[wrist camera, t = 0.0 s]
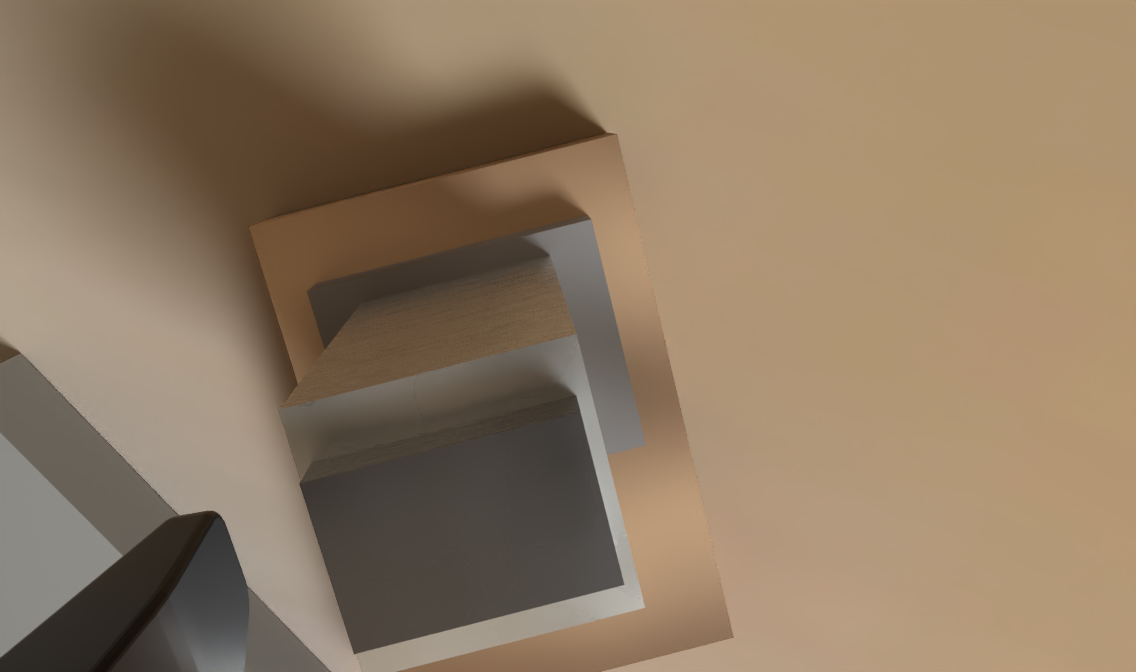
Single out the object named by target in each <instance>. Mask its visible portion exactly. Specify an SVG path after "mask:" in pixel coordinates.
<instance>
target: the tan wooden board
mask: <svg viewBox="0 0 1136 672" xmlns="http://www.w3.org/2000/svg"><path fill="white" fill-rule="evenodd" d="M249 230H250V233H251V236H252V240H253V243H254V246H255V249H256V252H257V256H258V259H259V262H260V265H261V268H262V271H263V275H264V278H265V281H266V284H267V287H268V291H269V294H270V297H271V300H272V303H273V306H274V310H275V313H276V316H277V319H278V322H279V326H280V329H281V332H282V335H283V338H284V341H285V345H286V348H287V351H288V354H289V357H290V361H291V364H292V367H293V370H294V373H295V376H296V380H297V383H298V384H299V383H300V381H301V380H302V379H303V377H304V376H305V375H306V374H307V372H308V371H309V370H310V368H311V367H312V366H313V365H314V363H315V362H316V361H317V359H318V358H319V357H320V356H321V354H322V353H323V352H324V350H325V349H326V348H327V347H328V345H329V344H330V343H331V341H332V340H333V339H334V338H335V336H336V335H337V334H338V332H339V331H340V330H341V328H342V327H343V326H344V325H345V323H346V322H347V321H348V319H349V318H350V317H351V316H352V314H353V313H354V312H355V310H356V309H357V308H358V307H359V305H360V304H361V303H363V302H367V301H371V300H375V299H379V298H383V297H387V296H391V295H395V294H399V293H403V292H407V291H411V290H414V289H418V288H422V287H426V286H430V285H434V284H438V283H442V282H446V281H450V280H454V279H458V278H462V277H466V276H470V275H474V274H478V273H482V272H485V271H489V270H493V269H497V268H501V267H505V266H509V265H513V264H517V263H521V262H525V261H529V260H533V259H537V258H541V257H545V256H549V255H550V256H551V259H552V262H553V265H554V268H555V271H556V274H557V277H558V280H559V283H560V286H561V289H562V292H563V295H564V298H565V301H566V304H567V307H568V310H569V313H570V316H571V319H572V322H573V325H574V328H575V331H576V334H577V338H578V342H579V346H580V350H581V354H582V358H583V362H584V366H585V370H586V374H587V378H588V382H589V386H590V390H591V394H592V398H593V402H594V406H595V409H596V413H597V417H598V421H599V425H600V429H601V433H602V437H603V441H604V445H605V449H606V453H607V457H608V461H609V465H610V469H611V473H612V477H613V481H614V485H615V489H616V493H617V497H618V501H619V505H620V509H621V513H622V517H623V521H624V525H625V529H626V533H627V537H628V541H629V545H630V549H631V553H632V557H633V561H634V565H635V569H636V573H637V577H638V581H639V585H640V589H641V593H642V597H643V601H644V605H645V608H643V609H639V610H635V611H631V612H627V613H623V614H619V615H615V616H611V617H607V618H604V619H600V620H596V621H592V622H588V623H584V624H580V625H576V626H572V627H568V628H565V629H561V630H557V631H553V632H549V633H545V634H541V635H537V636H533V637H529V638H526V639H522V640H518V641H514V642H510V643H506V644H502V645H498V646H494V647H490V648H487V649H483V650H479V651H475V652H471V653H467V654H463V655H459V656H455V657H451V658H448V659H444V660H440V661H436V662H432V663H428V664H424V665H420V666H416V667H412V668H409V669H405V670H401V671H397V672H601V671H605V670H609V669H613V668H617V667H621V666H625V665H629V664H633V663H637V662H640V661H644V660H648V659H652V658H656V657H660V656H664V655H668V654H672V653H675V652H679V651H683V650H687V649H691V648H695V647H699V646H703V645H707V644H710V643H714V642H718V641H722V640H726V639H730V638H734V637H733V633H732V629H731V624H730V620H729V616H728V611H727V607H726V603H725V598H724V594H723V590H722V585H721V581H720V577H719V573H718V568H717V564H716V560H715V555H714V551H713V547H712V542H711V538H710V534H709V529H708V525H707V521H706V516H705V512H704V508H703V503H702V499H701V495H700V491H699V486H698V482H697V478H696V473H695V469H694V465H693V460H692V456H691V452H690V447H689V443H688V439H687V434H686V430H685V426H684V421H683V417H682V413H681V409H680V404H679V400H678V396H677V391H676V387H675V383H674V378H673V374H672V370H671V365H670V361H669V357H668V352H667V348H666V344H665V339H664V335H663V331H662V327H661V322H660V318H659V314H658V309H657V305H656V301H655V296H654V292H653V288H652V283H651V279H650V275H649V270H648V266H647V262H646V257H645V253H644V249H643V245H642V240H641V236H640V232H639V227H638V223H637V219H636V214H635V210H634V206H633V201H632V197H631V193H630V188H629V184H628V180H627V175H626V171H625V167H624V163H623V158H622V154H621V150H620V145H619V141H618V137H617V134H613V133H605V134H601V135H597V136H593V137H589V138H585V139H581V140H577V141H573V142H569V143H565V144H561V145H557V146H553V147H549V148H546V149H542V150H538V151H534V152H530V153H526V154H522V155H518V156H514V157H510V158H506V159H502V160H498V161H494V162H490V163H486V164H482V165H478V166H474V167H470V168H466V169H462V170H458V171H455V172H451V173H447V174H443V175H439V176H435V177H431V178H427V179H423V180H419V181H415V182H411V183H407V184H403V185H399V186H395V187H391V188H387V189H383V190H379V191H375V192H371V193H367V194H364V195H360V196H356V197H352V198H348V199H344V200H340V201H336V202H332V203H328V204H324V205H320V206H316V207H312V208H308V209H304V210H300V211H296V212H292V213H288V214H284V215H280V216H277V217H273V218H269V219H267V220H264V221H262V222H260V223H257V224H255V225H253V226H250V227H249Z"/></svg>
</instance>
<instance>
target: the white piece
mask: <svg viewBox="0 0 1136 672" xmlns="http://www.w3.org/2000/svg"><path fill="white" fill-rule="evenodd" d="M279 414H280V417H281V420H282V423H283V426H284V429H285V432H286V435H287V438H288V442H289V445H290V448H291V451H292V454H293V457H294V460H295V463H296V467H297V470H298V473H299V476H300V479H301V482H300V487H301V490H302V493H303V496H304V499H305V502H306V505H307V509H308V512H309V515H310V518H311V521H312V524H313V527H314V530H315V533H316V537H317V540H318V543H319V546H320V549H321V552H322V555H323V558H324V561H325V565H326V568H327V571H328V574H329V577H330V580H331V583H332V586H333V590H334V593H335V596H336V599H337V602H338V605H339V608H340V611H341V614H342V618H343V621H344V624H345V627H346V630H347V633H348V636H349V639H350V642H351V646H352V649H353V652H354V654H357V657H358V660H359V663H360V666H361V669H362V672H397V671H401V670H405V669H409V668H412V667H416V666H420V665H424V664H428V663H432V662H436V661H440V660H444V659H448V658H451V657H455V656H459V655H463V654H467V653H471V652H475V651H479V650H483V649H487V648H490V647H494V646H498V645H502V644H506V643H510V642H514V641H518V640H522V639H526V638H529V637H533V636H537V635H541V634H545V633H549V632H553V631H557V630H561V629H565V628H568V627H572V626H576V625H580V624H584V623H588V622H592V621H596V620H600V619H604V618H607V617H611V616H615V615H619V614H623V613H627V612H631V611H635V610H639V609H643V608H645V605H644V601H643V597H642V593H641V589H640V585H639V581H638V577H637V573H636V569H635V565H634V561H633V557H632V553H631V549H630V545H629V541H628V537H627V533H626V529H625V525H624V521H623V517H622V513H621V509H620V505H619V501H618V497H617V493H616V489H615V485H614V481H613V477H612V473H611V469H610V465H609V461H608V457H607V453H606V449H605V445H604V441H603V437H602V433H601V429H600V425H599V421H598V417H597V413H596V409H595V406H594V402H593V398H592V394H591V390H590V386H589V382H588V378H587V374H586V370H585V366H584V362H583V358H582V354H581V350H580V346H579V342H578V338H577V334H576V331H575V328H574V325H573V322H572V319H571V316H570V313H569V310H568V307H567V304H566V301H565V298H564V295H563V292H562V289H561V286H560V283H559V280H558V277H557V274H556V271H555V268H554V265H553V262H552V259H551V256H550V255H549V256H545V257H541V258H537V259H533V260H529V261H525V262H521V263H517V264H513V265H509V266H505V267H501V268H497V269H493V270H489V271H485V272H482V273H478V274H474V275H470V276H466V277H462V278H458V279H454V280H450V281H446V282H442V283H438V284H434V285H430V286H426V287H422V288H418V289H414V290H411V291H407V292H403V293H399V294H395V295H391V296H387V297H383V298H379V299H375V300H371V301H367V302H363V303H361V304H360V305H359V307H358V308H357V309H356V310H355V312H354V313H353V314H352V316H351V317H350V318H349V319H348V321H347V322H346V323H345V325H344V326H343V327H342V328H341V330H340V331H339V332H338V334H337V335H336V336H335V338H334V339H333V340H332V341H331V343H330V344H329V345H328V347H327V348H326V349H325V350H324V352H323V353H322V354H321V356H320V357H319V358H318V359H317V361H316V362H315V363H314V365H313V366H312V367H311V368H310V370H309V371H308V372H307V374H306V375H305V376H304V377H303V379H302V380H301V381H300V383H299V384H298V385H297V387H296V388H295V389H294V390H293V392H292V393H291V394H290V396H289V397H288V398H287V399H286V401H285V402H284V403H283V405H282V406H281V407H280V408H279Z"/></svg>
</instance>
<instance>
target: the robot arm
mask: <svg viewBox="0 0 1136 672" xmlns="http://www.w3.org/2000/svg"><path fill="white" fill-rule="evenodd" d="M248 621H249V594H248V588H247V584H246V580H245V578H244V575H243V572H242V569H241V566H240V563H239V561H238V558H237V555H236V552H235V549H234V546H233V544H232V541H231V538H230V535H229V532H228V529H227V527H226V524H225V522H224V520H223V519H222V517H221V516H220V515H219V514H218V513H216V512H214V511H203V512H197V513H192V514H186V515H180V516H174V517H171V518H169V519H167V520H166V521H165V522H163V523H162V524H161V525H160V526H159V527H157V528H156V529H155V530H154V531H153V532H151V533H150V534H149V535H148V536H146V537H145V538H144V539H143V540H142V541H140V542H139V543H138V544H137V545H136V546H134V547H133V548H132V549H131V550H130V551H128V552H127V553H126V554H125V555H124V556H122V557H121V558H120V559H119V560H117V561H116V562H115V563H114V564H113V565H111V566H110V567H109V568H108V569H107V570H105V571H104V572H103V573H102V574H101V575H99V576H98V577H97V578H96V579H95V580H93V581H92V582H91V583H90V584H88V585H87V586H86V587H85V588H84V589H82V590H81V591H80V592H79V593H78V594H76V595H75V596H74V597H73V598H72V599H70V600H69V601H68V602H67V603H66V604H64V605H63V606H62V607H61V608H59V609H58V610H57V611H56V612H55V613H53V614H52V615H51V616H50V617H49V618H47V619H46V620H45V621H44V622H43V623H41V624H40V625H39V626H38V627H37V628H35V629H34V630H33V631H32V632H30V633H29V634H28V635H27V636H26V637H24V638H23V639H22V640H21V641H20V642H18V643H17V644H16V645H15V646H14V647H12V648H11V649H10V650H9V651H8V652H6V653H5V654H4V655H3V656H1V657H0V672H244V669H245V657H246V645H247V633H248Z"/></svg>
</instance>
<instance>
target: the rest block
mask: <svg viewBox="0 0 1136 672" xmlns="http://www.w3.org/2000/svg"><path fill="white" fill-rule="evenodd" d="M174 516H178V515H177V514H176V513H175V512H174V511H173V510H172V509H171V508H170V507H169V506H168V504H167V503H166V502H165V501H164V500H163V499H162V498H161V497H160V496H159V495H158V494H157V493H156V492H155V491H154V490H153V489H152V488H151V487H150V486H149V485H148V484H147V483H146V482H145V481H144V480H143V479H142V478H141V477H140V476H139V475H138V474H137V473H136V472H135V471H134V469H133V468H132V467H131V466H130V465H129V464H128V463H127V462H126V461H125V460H124V459H123V458H122V457H121V456H120V455H119V454H118V453H117V452H116V451H115V450H114V449H113V448H112V447H111V446H110V445H109V444H108V443H107V442H106V441H105V440H104V439H103V438H102V437H101V436H100V435H99V433H98V432H97V431H96V430H95V429H94V428H93V427H92V426H91V425H90V424H89V423H88V422H87V421H86V420H85V419H84V418H83V417H82V416H81V415H80V414H79V413H78V412H77V411H76V410H75V409H74V408H73V407H72V406H71V405H70V404H69V403H68V402H67V401H66V400H65V398H64V397H63V396H62V395H61V394H60V393H59V392H58V391H57V390H56V389H55V388H54V387H53V386H52V385H51V384H50V383H49V382H48V381H47V380H46V379H45V378H44V377H43V376H42V375H41V374H40V373H39V372H38V371H37V370H36V369H35V368H34V367H33V366H32V365H31V364H30V362H29V361H28V360H27V359H26V358H25V357H24V356H23V355H22V354H21V353H20V354H18V355H16V356H14V357H12V358H10V359H8V360H6V361H4V362H2V363H0V657H1V656H3V655H4V654H5V653H6V652H8V651H9V650H10V649H11V648H12V647H14V646H15V645H16V644H17V643H18V642H20V641H21V640H22V639H23V638H24V637H26V636H27V635H28V634H29V633H30V632H32V631H33V630H34V629H35V628H37V627H38V626H39V625H40V624H41V623H43V622H44V621H45V620H46V619H47V618H49V617H50V616H51V615H52V614H53V613H55V612H56V611H57V610H58V609H59V608H61V607H62V606H63V605H64V604H66V603H67V602H68V601H69V600H70V599H72V598H73V597H74V596H75V595H76V594H78V593H79V592H80V591H81V590H82V589H84V588H85V587H86V586H87V585H88V584H90V583H91V582H92V581H93V580H95V579H96V578H97V577H98V576H99V575H101V574H102V573H103V572H104V571H105V570H107V569H108V568H109V567H110V566H111V565H113V564H114V563H115V562H116V561H117V560H119V559H120V558H121V557H122V556H124V555H125V554H126V553H127V552H128V551H130V550H131V549H132V548H133V547H134V546H136V545H137V544H138V543H139V542H140V541H142V540H143V539H144V538H145V537H146V536H148V535H149V534H150V533H151V532H153V531H154V530H155V529H156V528H157V527H159V526H160V525H161V524H162V523H163V522H165V521H166V520H167V519H169V518H171V517H174ZM247 588H248V587H247ZM248 594H249V621H248V633H247V645H246V657H245V669H244V672H330V671H329V670H328V669H327V668H326V667H325V666H324V665H323V664H322V663H321V662H320V661H319V660H318V659H317V658H316V657H315V656H314V655H313V654H312V653H311V652H310V651H309V650H308V649H307V648H306V646H305V645H304V644H303V643H302V642H301V641H300V640H299V639H298V638H297V637H296V636H295V635H294V634H293V633H292V632H291V631H290V630H289V629H288V628H287V627H286V626H285V625H284V624H283V623H282V622H281V621H280V620H279V619H278V618H277V617H276V616H275V615H274V614H273V613H272V611H271V610H270V609H269V608H268V607H267V606H266V605H265V604H264V603H263V602H262V601H261V600H260V599H259V598H258V597H257V596H256V595H255V594H254V593H253V592H252V591H251V590H250V589H249V588H248Z"/></svg>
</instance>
